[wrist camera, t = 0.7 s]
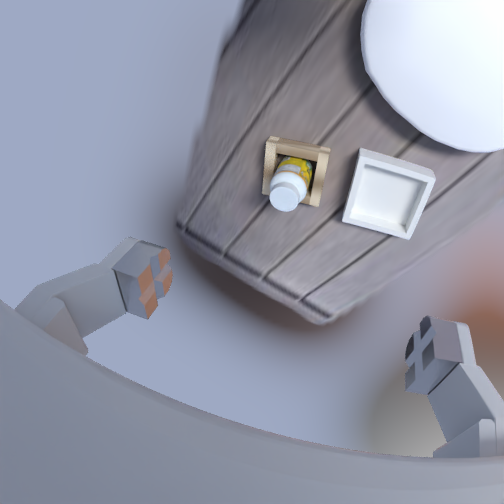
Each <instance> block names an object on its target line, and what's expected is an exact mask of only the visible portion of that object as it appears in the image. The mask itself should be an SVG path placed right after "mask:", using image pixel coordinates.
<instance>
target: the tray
mask: <svg viewBox="0 0 504 504" xmlns="http://www.w3.org/2000/svg"><path fill="white" fill-rule="evenodd" d="M435 180H436V178H435V175H434V173H433V171H432V170H431V169H429V168H426V167H423V166H420V165H417V164H414V163H410V162H407V161H404V160H401V159H398V158H394V157H391V156H388V155H384V154H381V153H377V152H374V151H370V150H366V149H363V148H360V149H359V153H358V157H357V161H356V165H355V169H354V173H353V177H352V181H351V185H350V188H349V192H348V196H347V199H346V203H345V207H344V210H343V217H342V222H346V223H350V224H354V225H357V226H361V227H365V228H369V229H372V230H376V231H380V232H383V233H387V234H390V235H394V236H398V237H401V238H405V239H408V240H410V237H411V235H412V233H413V231H414V229H415V227H416V225H417V222H418V220H419V218H420V216H421V213H422V211H423V209H424V207H425V204H426V202H427V200H428V197H429V195H430V192H431V190H432V187H433V185H434V182H435Z"/></svg>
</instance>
